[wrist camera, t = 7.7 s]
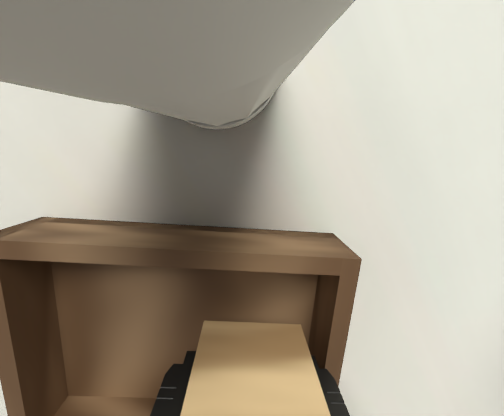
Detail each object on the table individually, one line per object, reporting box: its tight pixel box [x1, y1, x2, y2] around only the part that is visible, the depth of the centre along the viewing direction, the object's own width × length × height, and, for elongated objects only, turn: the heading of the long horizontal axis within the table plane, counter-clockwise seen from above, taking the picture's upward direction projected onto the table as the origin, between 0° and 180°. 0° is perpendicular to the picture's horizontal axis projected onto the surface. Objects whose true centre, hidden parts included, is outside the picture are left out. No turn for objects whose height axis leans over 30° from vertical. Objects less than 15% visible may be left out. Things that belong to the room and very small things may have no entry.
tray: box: [0, 217, 362, 416], centre depth 12 cm, size 16×12×3 cm
